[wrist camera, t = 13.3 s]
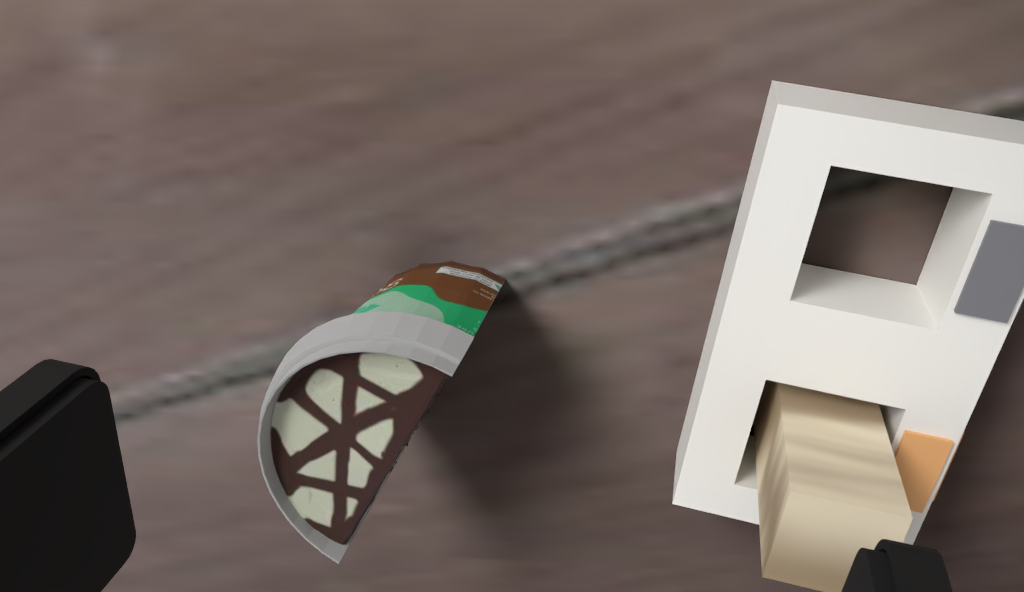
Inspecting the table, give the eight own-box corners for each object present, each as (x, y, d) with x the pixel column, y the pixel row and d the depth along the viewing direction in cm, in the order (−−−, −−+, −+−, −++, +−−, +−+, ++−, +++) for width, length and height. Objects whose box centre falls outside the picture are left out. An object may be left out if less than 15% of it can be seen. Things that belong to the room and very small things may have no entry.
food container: (403, 184, 38) (307, 274, 29) (520, 254, 38) (459, 364, 29) (310, 375, 44) (206, 497, 35) (411, 434, 44) (333, 571, 35)
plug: (774, 349, 37) (790, 491, 28) (867, 367, 37) (912, 518, 28) (753, 421, 39) (762, 577, 30) (841, 440, 38) (876, 604, 30)
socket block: (771, 80, 32) (778, 105, 29) (1058, 126, 31) (1103, 159, 27) (676, 450, 41) (672, 506, 37) (898, 501, 39) (916, 565, 35)
